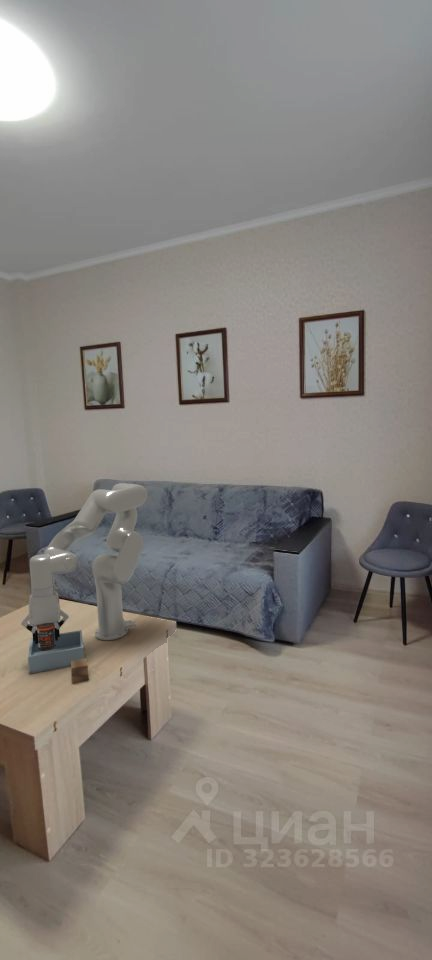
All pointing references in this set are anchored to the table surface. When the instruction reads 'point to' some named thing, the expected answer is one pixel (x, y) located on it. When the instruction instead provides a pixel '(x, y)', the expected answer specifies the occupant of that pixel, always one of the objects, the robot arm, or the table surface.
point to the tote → (56, 653)
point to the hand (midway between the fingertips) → (46, 640)
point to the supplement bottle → (46, 636)
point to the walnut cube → (79, 670)
